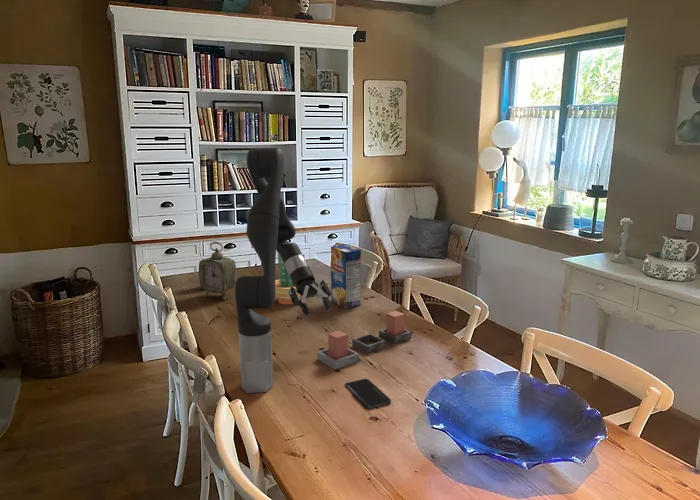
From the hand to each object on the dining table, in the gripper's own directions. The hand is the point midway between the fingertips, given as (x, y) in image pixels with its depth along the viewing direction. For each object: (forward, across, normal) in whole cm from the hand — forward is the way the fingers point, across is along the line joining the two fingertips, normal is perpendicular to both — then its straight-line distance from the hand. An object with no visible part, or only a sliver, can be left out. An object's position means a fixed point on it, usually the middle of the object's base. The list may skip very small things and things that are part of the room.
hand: (319, 311), depth 177 cm
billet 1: (+17, 0, +2) cm, 17 cm away
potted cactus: (-26, +20, +46) cm, 56 cm away
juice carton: (-14, +37, +34) cm, 52 cm away
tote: (+17, 0, +3) cm, 17 cm away
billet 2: (+16, +25, +2) cm, 30 cm away
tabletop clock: (-42, -1, +62) cm, 76 cm away
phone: (+33, -6, -13) cm, 36 cm away
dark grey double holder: (+17, +19, +3) cm, 26 cm away
